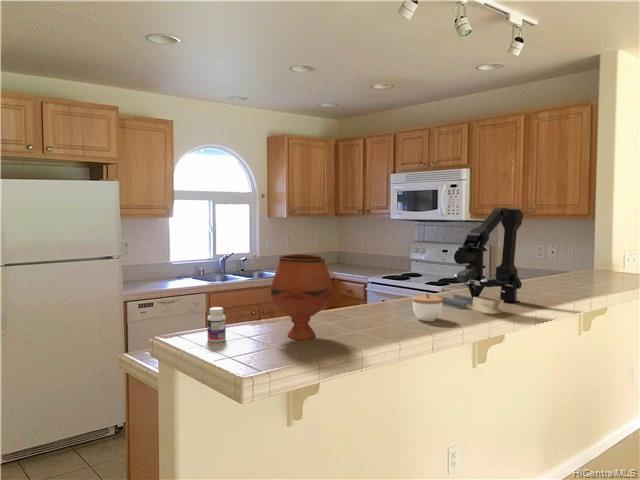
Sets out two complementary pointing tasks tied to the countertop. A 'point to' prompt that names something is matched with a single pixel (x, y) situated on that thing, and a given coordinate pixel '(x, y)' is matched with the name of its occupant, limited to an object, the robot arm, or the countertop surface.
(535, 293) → the countertop surface
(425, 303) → the lidded jar
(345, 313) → the countertop surface
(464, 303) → the chute
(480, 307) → the ash block
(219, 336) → the pill bottle
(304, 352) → the countertop surface
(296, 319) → the goblet
